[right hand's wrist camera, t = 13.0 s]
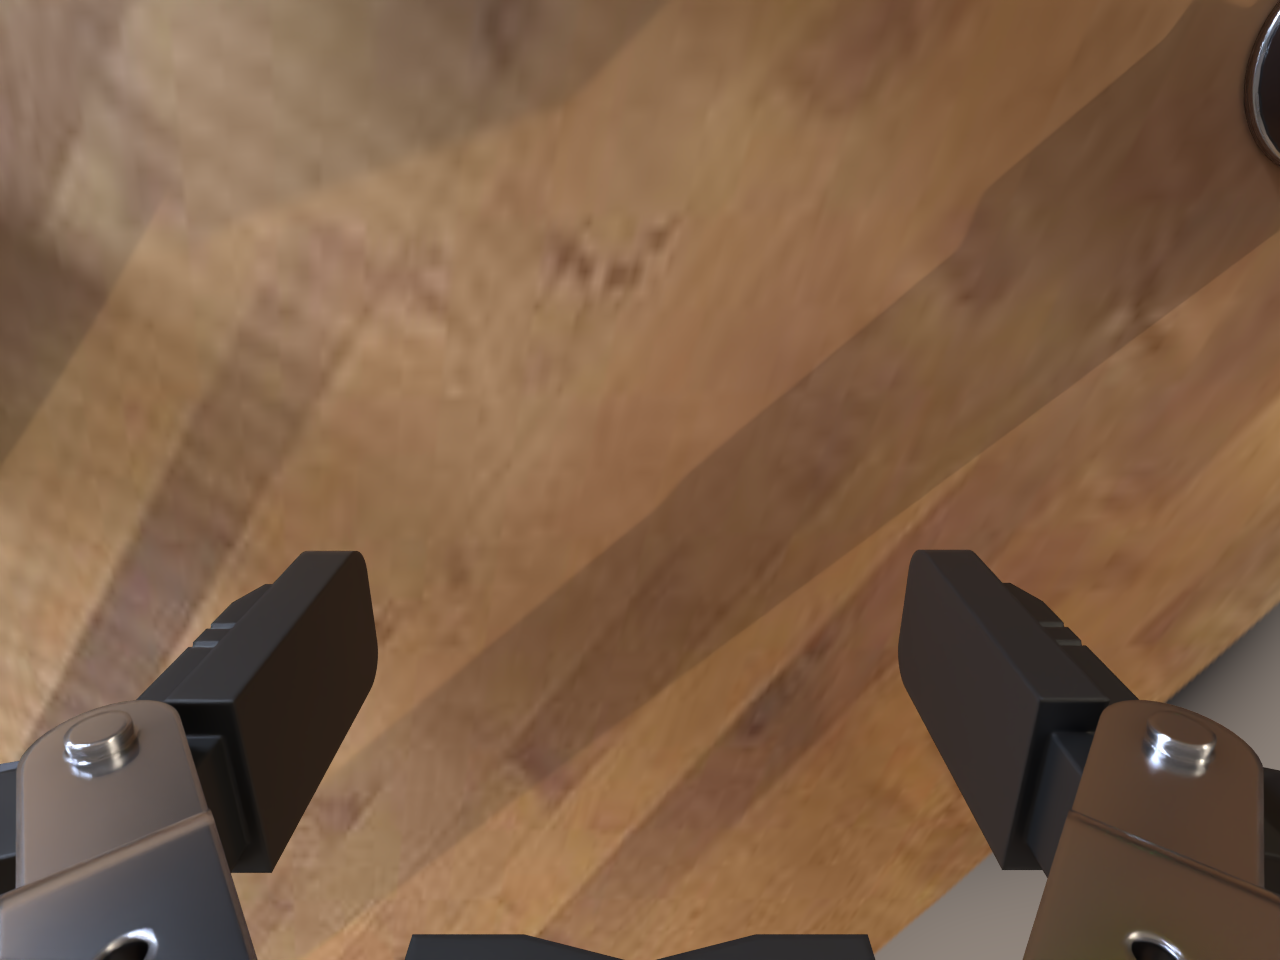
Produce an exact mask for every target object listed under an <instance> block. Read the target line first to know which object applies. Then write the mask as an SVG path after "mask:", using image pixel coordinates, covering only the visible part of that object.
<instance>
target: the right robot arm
mask: <svg viewBox="0 0 1280 960" xmlns="http://www.w3.org/2000/svg"><path fill="white" fill-rule="evenodd" d="M1244 104H1245V113H1246V118H1247V122H1248V125H1249V128H1250V131H1251V133H1252V136H1253V138H1254V140H1255V141H1256V143H1257V145H1258V146H1259V148H1260V149H1261V150H1262V152H1263V153H1264V154H1265V155H1266V156H1267V157H1268V158H1269V159H1270V160H1271V161H1272V162H1274V163H1275V164H1277V165H1278V166H1280V0H1279V2H1278V3H1277V4H1276V6H1275V7H1274V8H1273V10H1272V11H1271V13H1270V15H1269V16H1268V18H1267V19H1266V21H1265V23H1264V25H1263V27H1262V29H1261V30H1260V32H1259V35H1258V37H1257V39H1256V41H1255V44H1254V47H1253V49H1252V52H1251V55H1250V59H1249V63H1248V66H1247V71H1246V77H1245V86H1244ZM898 660H899V668H900V673H901V677H902V681H903V684H904V686H905V688H906V690H907V692H908V694H909V696H910V698H911V700H912V701H913V703H914V705H915V707H916V709H917V711H918V713H919V715H920V716H921V718H922V720H923V722H924V724H925V726H926V728H927V730H928V731H929V733H930V735H931V737H932V739H933V741H934V743H935V745H936V746H937V748H938V750H939V752H940V754H941V756H942V758H943V760H944V761H945V763H946V765H947V767H948V769H949V771H950V773H951V775H952V776H953V778H954V780H955V782H956V784H957V786H958V788H959V790H960V791H961V793H962V795H963V797H964V799H965V801H966V803H967V805H968V806H969V808H970V810H971V812H972V814H973V816H974V818H975V820H976V821H977V823H978V825H979V827H980V829H981V831H982V833H983V835H984V836H985V838H986V840H987V842H988V844H989V846H990V848H991V850H992V851H993V853H994V855H995V857H996V859H997V861H998V863H999V865H1000V866H1001V868H1002V870H1043V871H1044V873H1045V875H1046V876H1047V878H1048V879H1047V882H1046V886H1045V889H1044V892H1043V895H1042V899H1041V902H1040V905H1039V908H1038V912H1037V915H1036V918H1035V921H1034V924H1033V928H1032V931H1031V934H1030V938H1029V941H1028V944H1027V947H1026V950H1025V954H1024V957H1023V960H1280V771H1279V770H1274V769H1269V768H1264V767H1263V766H1262V763H1261V761H1260V759H1259V757H1258V756H1257V754H1256V753H1255V752H1254V750H1253V749H1252V748H1251V747H1250V746H1249V745H1248V744H1247V743H1246V742H1245V741H1244V740H1242V739H1241V738H1240V737H1239V736H1237V735H1236V734H1235V733H1233V732H1232V731H1230V730H1229V729H1227V728H1225V727H1224V726H1222V725H1220V724H1219V723H1217V722H1215V721H1213V720H1211V719H1209V718H1207V717H1205V716H1202V715H1200V714H1198V713H1195V712H1192V711H1190V710H1187V709H1184V708H1181V707H1177V706H1174V705H1170V704H1166V703H1161V702H1155V701H1147V700H1139V699H1138V698H1137V697H1136V696H1135V695H1134V694H1133V693H1132V692H1131V691H1130V690H1129V689H1128V688H1127V687H1126V686H1125V685H1124V684H1123V683H1122V682H1121V681H1120V680H1119V679H1118V678H1117V677H1116V676H1115V675H1114V674H1113V673H1112V672H1111V671H1110V670H1109V669H1108V668H1107V667H1106V665H1105V664H1104V663H1103V662H1102V661H1101V660H1100V659H1099V658H1098V657H1097V656H1096V655H1095V654H1094V653H1093V652H1092V651H1091V650H1090V649H1089V648H1088V647H1087V646H1082V644H1081V640H1080V639H1079V638H1078V637H1077V636H1076V635H1075V634H1074V633H1073V632H1072V631H1071V630H1070V629H1069V628H1068V627H1064V623H1063V622H1062V621H1061V620H1060V619H1059V617H1058V616H1057V615H1056V614H1055V613H1054V612H1053V611H1052V610H1051V609H1050V608H1049V607H1048V606H1047V605H1046V604H1045V603H1044V602H1043V601H1041V600H1039V599H1038V598H1036V597H1034V596H1032V595H1031V594H1029V593H1027V592H1025V591H1023V590H1022V589H1020V588H1018V587H1016V586H1015V585H1013V584H1011V583H1002V582H1001V581H1000V580H999V579H998V578H997V577H996V575H995V574H994V573H993V572H992V571H991V570H990V569H989V568H988V567H987V566H986V565H985V564H984V562H983V561H982V560H981V559H980V558H979V557H978V556H977V555H976V554H975V553H974V552H973V551H971V550H917V551H916V552H915V553H914V554H913V556H912V558H911V561H910V566H909V572H908V579H907V586H906V593H905V600H904V607H903V615H902V622H901V629H900V636H899V644H898ZM377 662H378V645H377V637H376V630H375V623H374V616H373V609H372V602H371V595H370V588H369V581H368V574H367V568H366V563H365V560H364V558H363V556H362V554H361V553H360V552H358V551H305V552H303V553H302V554H300V555H299V556H298V558H297V559H296V560H295V561H294V562H293V563H292V564H291V565H290V566H289V567H288V568H287V569H286V570H285V571H284V573H283V574H282V575H281V576H280V577H279V578H278V579H277V580H276V581H275V582H274V583H273V584H265V585H263V586H261V587H259V588H258V589H256V590H254V591H252V592H251V593H249V594H247V595H245V596H243V597H242V598H240V599H238V600H236V601H234V602H233V603H232V604H231V605H230V606H229V607H228V608H227V609H226V610H225V611H224V612H223V613H222V614H221V615H220V616H219V617H218V618H217V619H216V620H215V621H214V622H213V623H212V624H211V629H206V630H205V631H204V632H203V633H202V634H201V635H200V636H199V637H198V638H197V639H196V640H195V641H194V642H193V647H188V648H187V649H186V650H185V651H184V652H183V653H182V654H181V655H180V656H179V657H178V658H177V659H176V660H175V661H174V662H173V663H172V664H171V665H170V666H169V667H168V668H167V669H166V670H165V671H164V672H163V673H162V674H161V675H160V676H159V677H158V678H157V679H156V680H155V681H154V682H153V683H152V684H151V685H150V686H149V688H148V689H147V690H146V691H145V692H144V693H143V694H142V695H141V696H140V697H139V698H138V699H137V700H133V701H125V702H119V703H114V704H110V705H106V706H103V707H99V708H96V709H93V710H90V711H88V712H85V713H82V714H80V715H78V716H75V717H73V718H71V719H69V720H67V721H65V722H63V723H61V724H60V725H58V726H56V727H55V728H53V729H51V730H50V731H48V732H47V733H45V734H44V735H43V736H41V737H40V738H39V739H38V740H36V741H35V742H34V743H33V744H32V745H31V746H30V747H29V748H28V749H27V750H26V752H25V753H24V754H23V756H22V757H21V759H20V761H19V763H18V766H17V768H15V769H11V770H6V771H1V772H0V960H257V957H256V954H255V950H254V947H253V944H252V941H251V937H250V934H249V931H248V928H247V924H246V921H245V918H244V915H243V912H242V908H241V905H240V902H239V899H238V895H237V892H236V889H235V886H234V882H233V879H232V876H231V873H272V871H273V869H274V868H275V866H276V864H277V862H278V860H279V858H280V856H281V855H282V853H283V851H284V849H285V847H286V845H287V843H288V842H289V840H290V838H291V836H292V834H293V832H294V830H295V829H296V827H297V825H298V823H299V821H300V819H301V817H302V816H303V814H304V812H305V810H306V808H307V806H308V805H309V803H310V801H311V799H312V797H313V795H314V793H315V792H316V790H317V788H318V786H319V784H320V782H321V780H322V779H323V777H324V775H325V773H326V771H327V769H328V767H329V766H330V764H331V762H332V760H333V758H334V756H335V754H336V753H337V751H338V749H339V747H340V745H341V743H342V742H343V740H344V738H345V736H346V734H347V732H348V730H349V729H350V727H351V725H352V723H353V721H354V719H355V717H356V716H357V714H358V712H359V710H360V708H361V706H362V704H363V703H364V701H365V699H366V697H367V695H368V693H369V691H370V690H371V687H372V685H373V682H374V679H375V675H376V670H377ZM405 960H623V959H619V958H615V957H611V956H607V955H603V954H599V953H595V952H591V951H587V950H583V949H579V948H575V947H572V946H568V945H564V944H560V943H556V942H552V941H548V940H544V939H540V938H536V937H532V936H528V935H524V934H412V938H411V941H410V944H409V948H408V951H407V954H406V957H405ZM657 960H875V957H874V954H873V951H872V948H871V944H870V941H869V938H868V934H756V935H752V936H748V937H744V938H740V939H736V940H732V941H728V942H724V943H720V944H716V945H712V946H708V947H705V948H701V949H697V950H693V951H689V952H685V953H681V954H677V955H673V956H669V957H665V958H661V959H657Z"/></svg>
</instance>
